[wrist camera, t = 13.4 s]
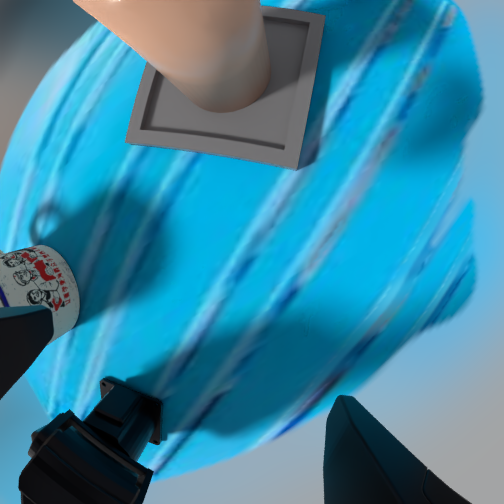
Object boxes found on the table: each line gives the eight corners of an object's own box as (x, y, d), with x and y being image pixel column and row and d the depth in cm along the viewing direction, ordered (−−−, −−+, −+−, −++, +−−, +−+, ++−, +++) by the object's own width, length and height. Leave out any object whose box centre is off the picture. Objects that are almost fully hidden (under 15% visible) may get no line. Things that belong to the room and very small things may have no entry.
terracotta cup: (279, 102, 18) (261, -36, 5) (188, 122, 18) (60, 40, 6) (261, 29, 17) (229, -110, 4) (178, 50, 18) (81, -56, 5)
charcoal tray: (296, 170, 19) (297, 169, 18) (132, 144, 20) (124, 142, 19) (324, 23, 16) (325, 15, 15) (173, 12, 17) (168, 5, 16)
